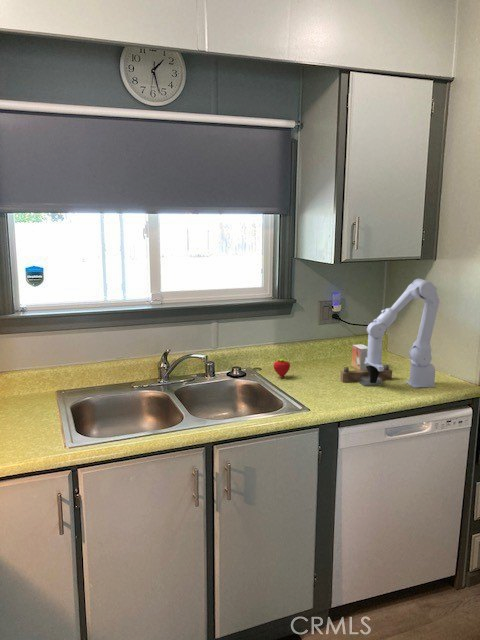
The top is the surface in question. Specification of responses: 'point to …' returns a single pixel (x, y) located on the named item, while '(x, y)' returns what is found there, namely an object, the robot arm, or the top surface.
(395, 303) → the robot arm
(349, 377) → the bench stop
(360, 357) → the small box
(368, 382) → the steel plate
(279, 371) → the strawberry
